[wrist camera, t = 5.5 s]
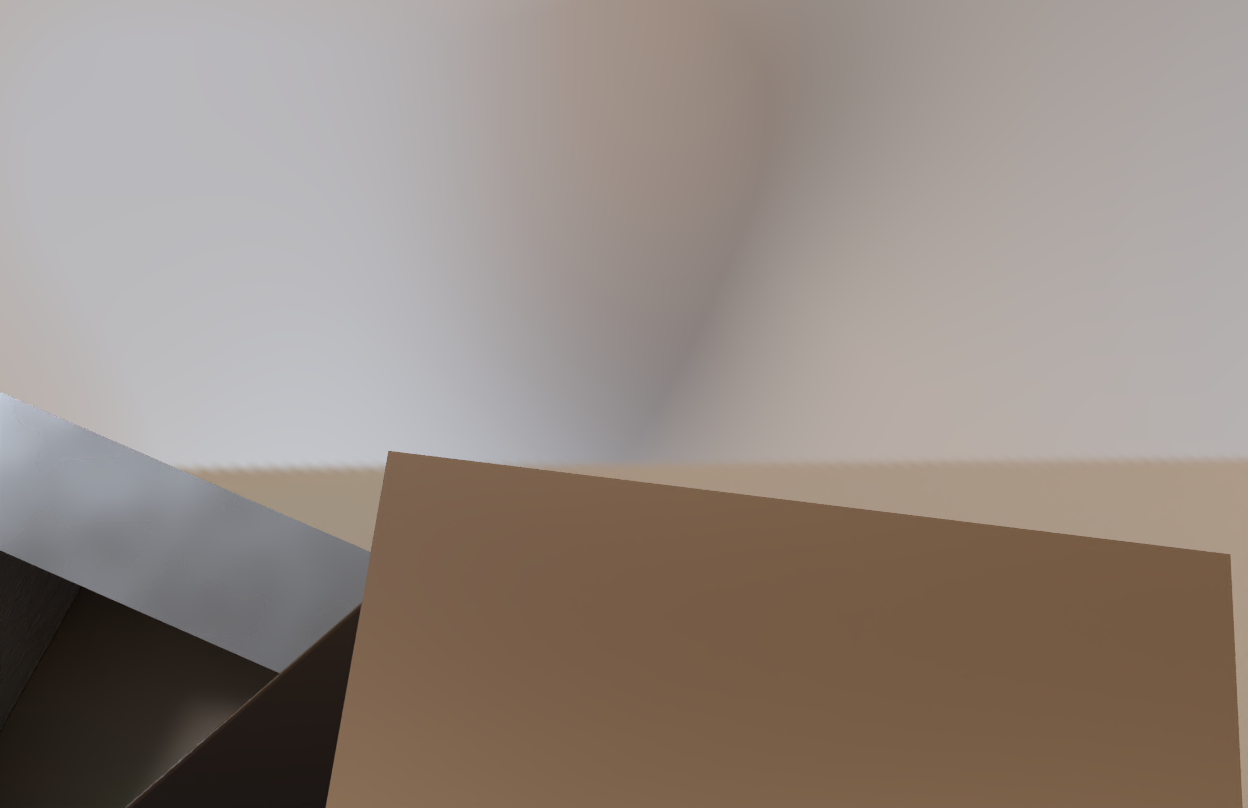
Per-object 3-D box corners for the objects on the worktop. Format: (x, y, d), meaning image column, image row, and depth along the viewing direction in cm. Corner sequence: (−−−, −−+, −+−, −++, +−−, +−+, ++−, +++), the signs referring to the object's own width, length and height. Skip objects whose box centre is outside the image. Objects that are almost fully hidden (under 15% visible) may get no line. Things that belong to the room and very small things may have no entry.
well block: (261, 1168, 18) (185, 1290, 15) (-255, 929, 19) (-461, 988, 15) (502, 622, 21) (492, 604, 17) (46, 423, 22) (-63, 364, 18)
